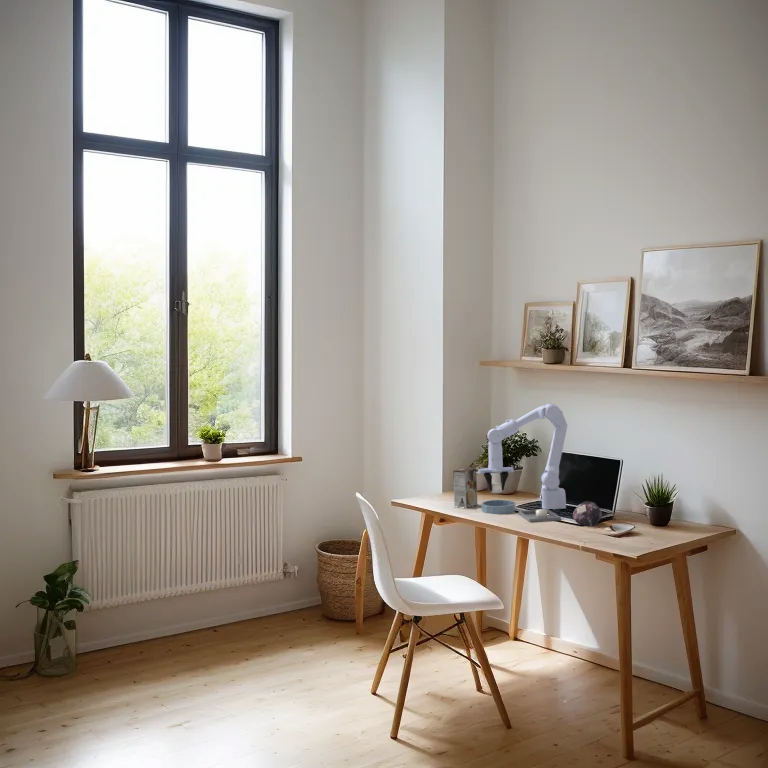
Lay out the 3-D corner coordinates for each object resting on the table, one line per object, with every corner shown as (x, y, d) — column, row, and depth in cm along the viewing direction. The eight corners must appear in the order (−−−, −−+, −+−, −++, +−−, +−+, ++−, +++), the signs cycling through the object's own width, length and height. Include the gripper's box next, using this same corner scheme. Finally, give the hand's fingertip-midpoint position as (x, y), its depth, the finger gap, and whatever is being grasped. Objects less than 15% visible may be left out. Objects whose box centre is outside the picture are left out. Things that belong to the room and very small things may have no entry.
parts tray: (548, 514, 352) (548, 509, 351) (560, 522, 336) (560, 517, 336) (518, 516, 350) (518, 511, 350) (529, 524, 335) (529, 519, 335)
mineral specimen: (565, 520, 332) (574, 495, 333) (589, 528, 334) (598, 504, 335) (576, 524, 323) (585, 499, 323) (600, 533, 325) (609, 508, 325)
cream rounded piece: (545, 517, 342) (545, 508, 342) (548, 519, 338) (548, 511, 338) (534, 518, 342) (534, 509, 342) (537, 520, 337) (537, 511, 337)
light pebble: (500, 490, 363) (499, 482, 363) (503, 492, 359) (503, 484, 359) (489, 491, 362) (489, 483, 362) (493, 493, 358) (493, 485, 358)
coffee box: (465, 503, 380) (464, 467, 379) (477, 505, 376) (476, 468, 375) (454, 507, 373) (452, 470, 372) (466, 508, 369) (465, 471, 368)
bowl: (510, 508, 366) (510, 499, 366) (519, 515, 353) (519, 505, 352) (478, 510, 365) (478, 501, 364) (486, 517, 351) (486, 507, 351)
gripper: (480, 460, 355) (481, 493, 356) (515, 458, 357) (516, 490, 358) (476, 457, 362) (477, 489, 363) (510, 455, 364) (511, 487, 365)
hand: (496, 490), depth 361 cm, fingers closed on light pebble, 4 cm apart
